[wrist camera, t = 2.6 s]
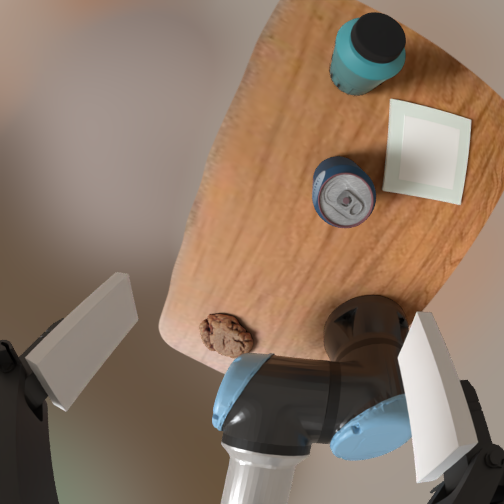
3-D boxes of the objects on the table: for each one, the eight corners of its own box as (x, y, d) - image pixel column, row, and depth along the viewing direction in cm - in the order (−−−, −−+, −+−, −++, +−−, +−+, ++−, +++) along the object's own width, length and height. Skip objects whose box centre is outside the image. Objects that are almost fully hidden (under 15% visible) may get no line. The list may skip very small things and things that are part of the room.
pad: (458, 203, 35) (460, 205, 35) (381, 189, 38) (383, 190, 37) (468, 119, 30) (471, 119, 29) (390, 99, 32) (391, 98, 31)
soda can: (302, 182, 40) (297, 203, 29) (334, 145, 37) (343, 152, 26) (339, 213, 40) (347, 246, 30) (371, 178, 37) (392, 199, 27)
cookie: (245, 359, 56) (242, 370, 54) (196, 339, 57) (191, 349, 54) (262, 325, 52) (259, 336, 49) (207, 303, 52) (202, 312, 50)
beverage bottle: (384, 75, 31) (439, 37, 13) (355, 108, 34) (393, 91, 16) (346, 45, 30) (369, -18, 12) (317, 77, 33) (318, 32, 15)
